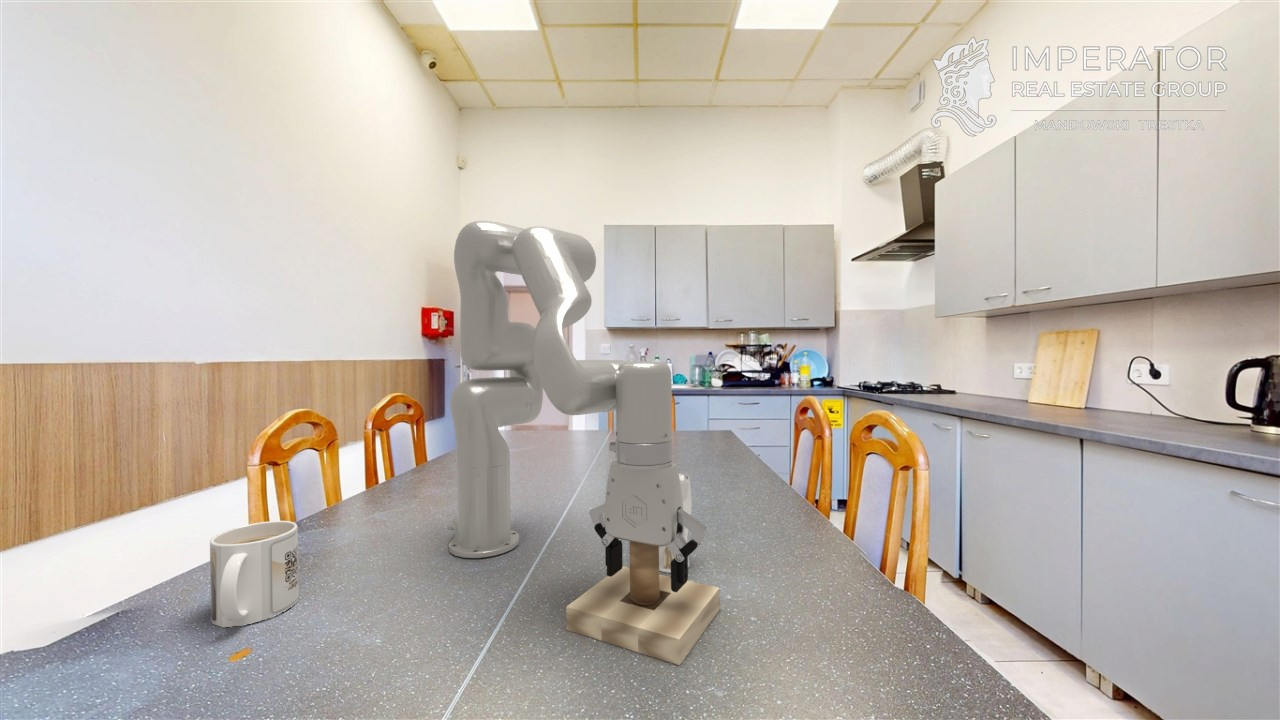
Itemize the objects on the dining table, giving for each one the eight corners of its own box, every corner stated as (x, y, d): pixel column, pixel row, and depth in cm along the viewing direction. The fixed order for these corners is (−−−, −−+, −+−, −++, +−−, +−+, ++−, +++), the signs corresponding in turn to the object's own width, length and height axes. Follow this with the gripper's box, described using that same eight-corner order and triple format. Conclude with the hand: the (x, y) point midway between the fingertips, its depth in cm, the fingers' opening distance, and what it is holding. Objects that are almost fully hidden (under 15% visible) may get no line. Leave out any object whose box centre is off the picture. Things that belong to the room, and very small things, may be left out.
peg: (624, 622, 65) (623, 533, 65) (639, 608, 69) (638, 523, 69) (651, 630, 63) (650, 538, 63) (665, 615, 67) (664, 528, 67)
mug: (318, 599, 72) (317, 524, 72) (226, 644, 61) (225, 556, 61) (268, 588, 76) (267, 517, 76) (173, 629, 64) (172, 546, 64)
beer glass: (689, 576, 79) (689, 483, 79) (647, 572, 80) (646, 481, 80) (693, 558, 85) (693, 473, 85) (654, 555, 87) (653, 471, 87)
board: (566, 629, 63) (566, 606, 63) (621, 584, 76) (620, 565, 76) (679, 665, 56) (679, 639, 56) (719, 609, 68) (719, 587, 68)
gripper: (575, 452, 67) (576, 578, 67) (693, 464, 58) (695, 607, 58) (604, 443, 73) (606, 557, 73) (715, 453, 65) (716, 581, 65)
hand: (645, 579), depth 66 cm, fingers open, 9 cm apart
